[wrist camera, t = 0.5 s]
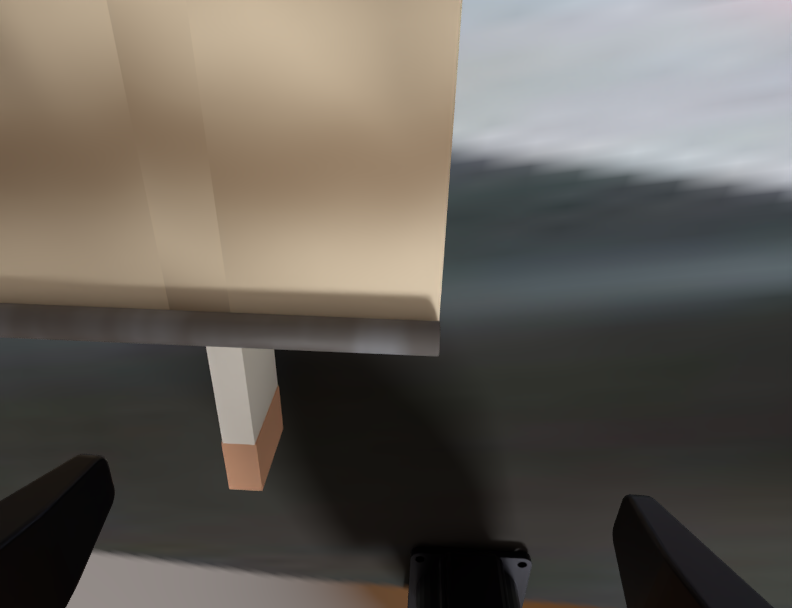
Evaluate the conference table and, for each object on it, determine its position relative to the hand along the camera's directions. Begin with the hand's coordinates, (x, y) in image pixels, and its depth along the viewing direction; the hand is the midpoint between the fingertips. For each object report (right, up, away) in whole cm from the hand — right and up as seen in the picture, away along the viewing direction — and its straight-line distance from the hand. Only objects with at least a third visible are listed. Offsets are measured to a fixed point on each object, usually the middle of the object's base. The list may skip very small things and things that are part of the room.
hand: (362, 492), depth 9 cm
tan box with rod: (-5, +10, +10) cm, 14 cm away
